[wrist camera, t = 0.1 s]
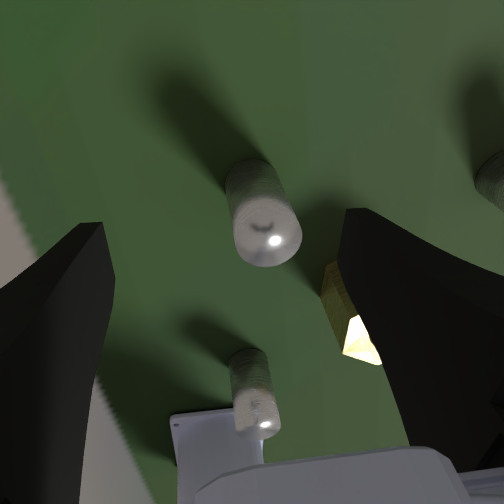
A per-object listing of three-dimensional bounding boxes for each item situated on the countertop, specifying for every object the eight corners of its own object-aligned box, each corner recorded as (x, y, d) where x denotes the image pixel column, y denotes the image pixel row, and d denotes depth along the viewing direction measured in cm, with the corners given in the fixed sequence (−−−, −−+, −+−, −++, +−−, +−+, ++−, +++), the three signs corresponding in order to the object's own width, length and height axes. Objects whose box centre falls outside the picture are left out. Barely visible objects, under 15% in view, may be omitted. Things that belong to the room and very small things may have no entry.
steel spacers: (441, 354, 34) (480, 413, 29) (228, 376, 32) (236, 443, 27) (533, 149, 23) (614, 193, 19) (224, 159, 21) (235, 212, 17)
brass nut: (383, 307, 30) (415, 362, 25) (317, 312, 29) (339, 370, 25) (402, 242, 26) (442, 294, 22) (328, 246, 26) (355, 301, 21)
